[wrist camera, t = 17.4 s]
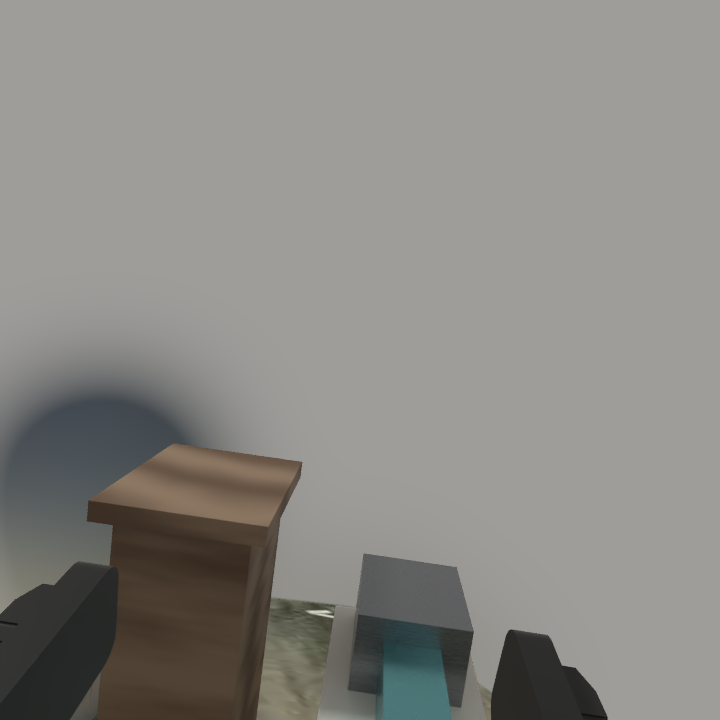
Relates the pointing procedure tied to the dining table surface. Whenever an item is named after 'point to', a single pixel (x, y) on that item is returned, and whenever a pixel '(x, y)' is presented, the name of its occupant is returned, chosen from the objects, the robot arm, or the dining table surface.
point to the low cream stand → (357, 709)
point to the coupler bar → (410, 638)
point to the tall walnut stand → (191, 582)
